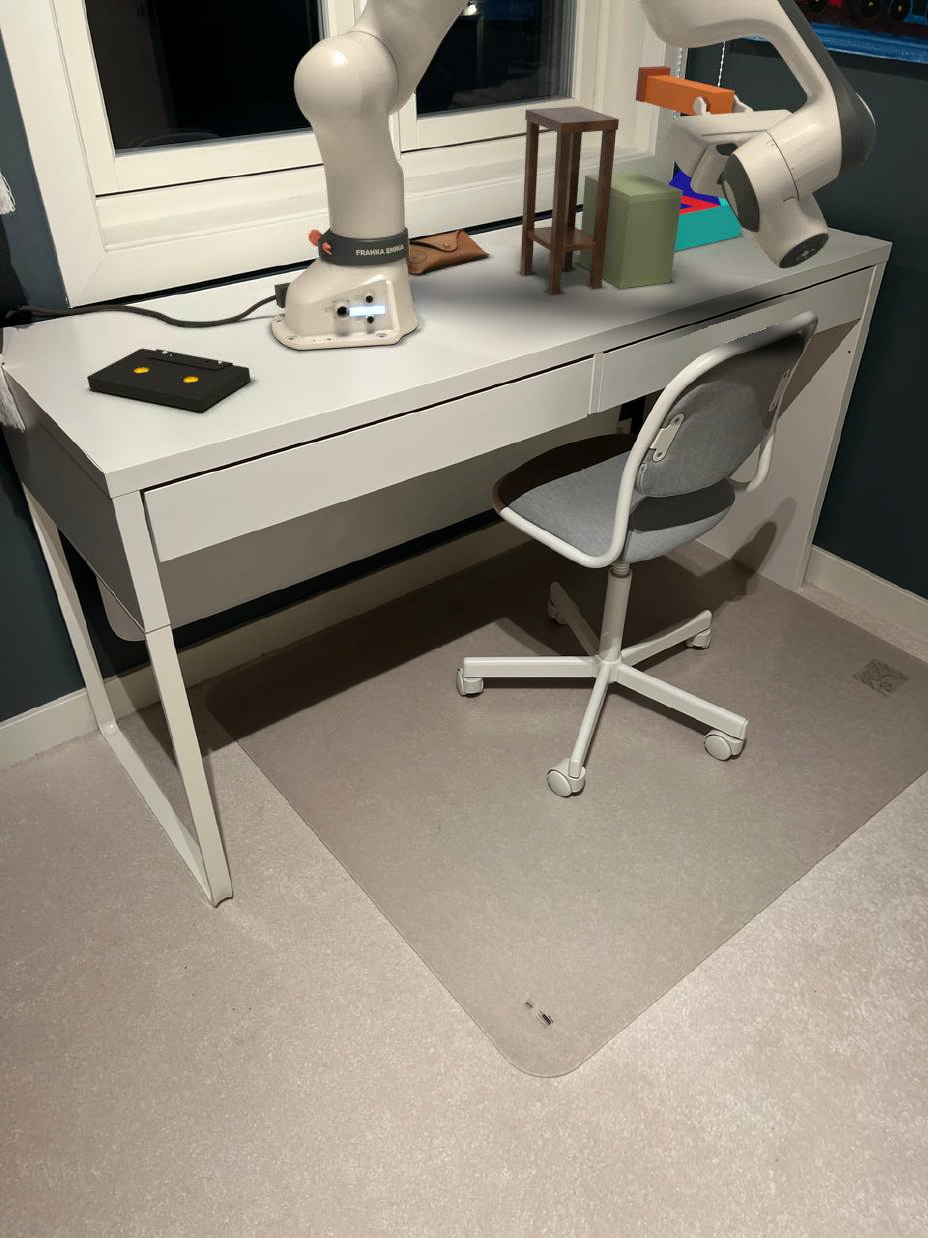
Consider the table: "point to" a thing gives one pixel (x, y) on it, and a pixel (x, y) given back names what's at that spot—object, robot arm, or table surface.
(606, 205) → the stand
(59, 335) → the table surface
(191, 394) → the cassette tape
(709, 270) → the table surface
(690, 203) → the building blocks toy
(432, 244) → the sunglasses case
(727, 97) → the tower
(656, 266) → the sage green box
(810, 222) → the robot arm
